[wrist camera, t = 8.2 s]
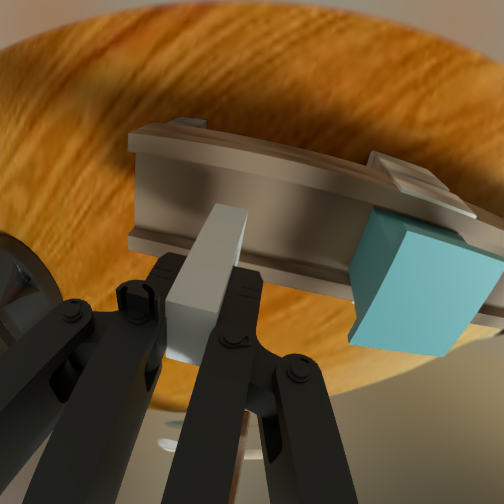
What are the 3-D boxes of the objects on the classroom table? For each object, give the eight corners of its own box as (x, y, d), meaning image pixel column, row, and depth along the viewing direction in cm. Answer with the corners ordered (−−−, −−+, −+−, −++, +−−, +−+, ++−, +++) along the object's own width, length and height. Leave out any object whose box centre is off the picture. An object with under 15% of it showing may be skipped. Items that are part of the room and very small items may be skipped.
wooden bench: (172, 198, 24) (128, 252, 18) (181, 107, 20) (128, 128, 14) (499, 279, 24) (533, 335, 17) (532, 217, 20) (579, 265, 13)
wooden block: (219, 405, 41) (192, 520, 26) (251, 410, 41) (230, 527, 26) (220, 430, 46) (199, 526, 31) (247, 434, 46) (230, 532, 31)
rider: (341, 285, 18) (348, 343, 14) (380, 186, 15) (407, 230, 11) (423, 302, 18) (443, 356, 14) (469, 217, 15) (508, 263, 11)
